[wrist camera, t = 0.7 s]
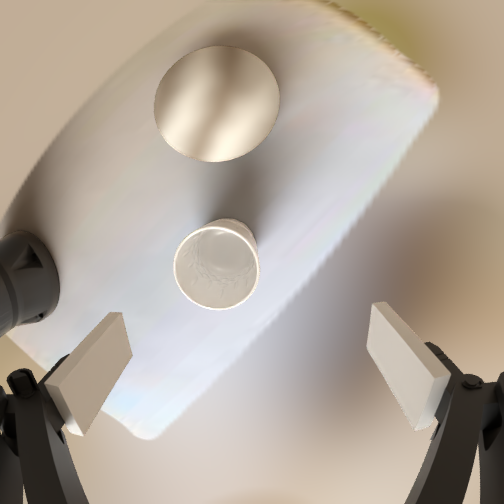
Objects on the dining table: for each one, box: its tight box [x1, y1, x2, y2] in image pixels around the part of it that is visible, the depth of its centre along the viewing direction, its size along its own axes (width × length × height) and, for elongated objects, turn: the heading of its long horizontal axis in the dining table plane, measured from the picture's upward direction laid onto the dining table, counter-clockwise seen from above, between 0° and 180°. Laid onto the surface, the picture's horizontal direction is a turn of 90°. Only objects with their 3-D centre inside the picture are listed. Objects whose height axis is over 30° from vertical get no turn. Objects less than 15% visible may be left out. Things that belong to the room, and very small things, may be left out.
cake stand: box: [154, 46, 280, 162], centre depth 30 cm, size 13×13×6 cm
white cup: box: [173, 219, 260, 310], centre depth 31 cm, size 8×8×10 cm
